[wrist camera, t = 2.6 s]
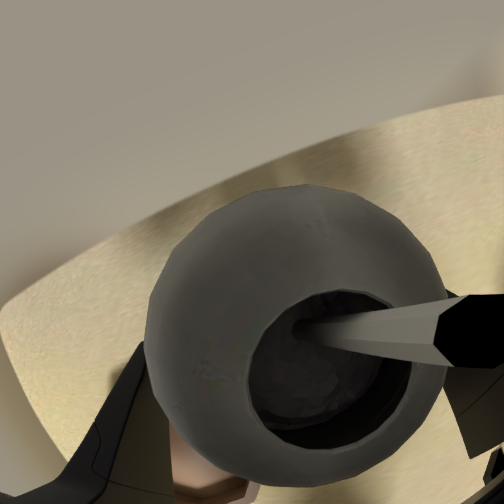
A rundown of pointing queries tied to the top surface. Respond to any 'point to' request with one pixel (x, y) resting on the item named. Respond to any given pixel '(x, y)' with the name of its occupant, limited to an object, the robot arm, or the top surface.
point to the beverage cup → (307, 336)
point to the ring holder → (205, 478)
